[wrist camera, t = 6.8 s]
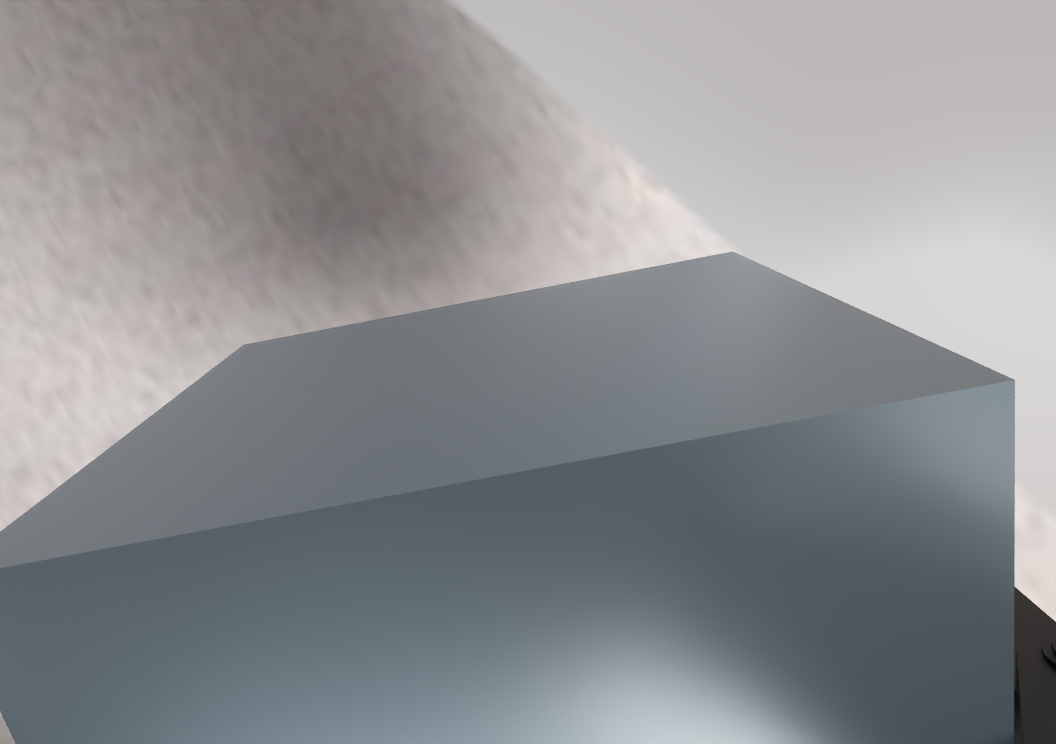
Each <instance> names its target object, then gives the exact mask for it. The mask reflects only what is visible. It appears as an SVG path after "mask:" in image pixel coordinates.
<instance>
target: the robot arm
mask: <svg viewBox="0 0 1056 744" xmlns="http://www.w3.org/2000/svg"><path fill="white" fill-rule="evenodd" d="M1014 744H1056V622H1055V621H1054V620H1053V619H1052V618H1050V617H1049V616H1048V615H1047V614H1046V613H1045V612H1043V611H1042V610H1041V609H1040V608H1039V607H1038V606H1036V605H1035V604H1034V603H1033V602H1032V601H1031V600H1029V599H1028V598H1027V597H1026V596H1025V595H1024V594H1022V593H1021V592H1020V591H1019V590H1018V589H1017V588H1015V587H1014Z"/></svg>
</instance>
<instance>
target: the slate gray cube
mask: <svg viewBox="0 0 1056 744" xmlns="http://www.w3.org/2000/svg"><path fill="white" fill-rule="evenodd" d="M1014 420H1015V380H1014V379H1011V378H1009V377H1007V376H1005V375H1002V374H1000V373H998V372H996V371H994V370H992V369H990V368H987V367H985V366H983V365H981V364H979V363H976V362H974V361H972V360H970V359H968V358H965V357H963V356H961V355H959V354H957V353H954V352H952V351H950V350H948V349H945V348H943V347H941V346H939V345H937V344H935V343H932V342H930V341H928V340H926V339H924V338H921V337H919V336H917V335H915V334H913V333H910V332H908V331H906V330H904V329H902V328H899V327H897V326H895V325H893V324H891V323H888V322H886V321H884V320H882V319H880V318H877V317H875V316H873V315H871V314H868V313H866V312H864V311H862V310H860V309H857V308H855V307H853V306H851V305H849V304H847V303H844V302H842V301H840V300H838V299H836V298H833V297H831V296H829V295H827V294H825V293H822V292H820V291H818V290H816V289H814V288H811V287H809V286H807V285H805V284H803V283H800V282H798V281H796V280H794V279H792V278H789V277H787V276H785V275H783V274H781V273H778V272H776V271H774V270H772V269H770V268H767V267H765V266H763V265H761V264H758V263H757V262H754V261H752V260H750V259H748V258H745V257H743V256H741V255H739V254H737V253H735V252H729V253H724V254H718V255H713V256H708V257H703V258H697V259H692V260H687V261H682V262H676V263H671V264H666V265H661V266H655V267H650V268H645V269H640V270H634V271H629V272H624V273H619V274H613V275H608V276H603V277H598V278H592V279H587V280H582V281H577V282H571V283H566V284H561V285H556V286H550V287H545V288H540V289H535V290H529V291H524V292H519V293H514V294H508V295H503V296H498V297H493V298H487V299H482V300H477V301H472V302H466V303H461V304H456V305H451V306H446V307H440V308H435V309H430V310H425V311H419V312H414V313H409V314H404V315H398V316H393V317H388V318H383V319H377V320H372V321H367V322H362V323H356V324H351V325H346V326H341V327H335V328H330V329H325V330H320V331H314V332H309V333H304V334H299V335H293V336H288V337H283V338H278V339H272V340H267V341H262V342H257V343H251V344H246V345H243V346H242V347H240V348H239V349H238V350H236V351H235V352H234V353H232V354H231V355H230V356H228V357H227V358H226V359H225V360H223V361H222V362H221V363H219V364H218V365H217V366H215V367H214V368H213V369H212V370H210V371H209V372H208V373H206V374H205V375H204V376H202V377H201V378H200V379H199V380H197V381H196V382H195V383H193V384H192V385H191V386H189V387H188V388H187V389H186V390H184V391H183V392H182V393H180V394H179V395H178V396H176V397H175V398H174V399H173V400H171V401H170V402H169V403H167V404H166V405H165V406H163V407H162V408H161V409H160V410H158V411H157V412H156V413H154V414H153V415H152V416H150V417H149V418H148V419H147V420H145V421H144V422H143V423H141V424H140V425H139V426H137V427H136V428H135V429H134V430H132V431H131V432H130V433H128V434H127V435H126V436H124V437H123V438H122V439H121V440H119V441H118V442H117V443H115V444H114V445H113V446H111V447H110V448H109V449H108V450H106V451H105V452H104V453H102V454H101V455H100V456H98V457H97V458H96V459H94V460H93V461H92V462H91V463H89V464H88V465H87V466H85V467H84V468H83V469H81V470H80V471H79V472H78V473H76V474H75V475H74V476H72V477H71V478H70V479H68V480H67V481H66V482H65V483H63V484H62V485H61V486H59V487H58V488H57V489H55V490H54V491H53V492H52V493H50V494H49V495H48V496H46V497H45V498H44V499H42V500H41V501H40V502H39V503H37V504H36V505H35V506H33V507H32V508H31V509H29V510H28V511H27V512H26V513H24V514H23V515H22V516H20V517H19V518H18V519H16V520H15V521H14V522H13V523H11V524H10V525H9V526H7V527H6V528H5V529H3V530H2V531H1V532H0V711H1V713H2V715H3V718H4V720H5V722H6V724H7V726H8V728H9V730H10V732H11V735H12V737H13V739H14V741H15V743H16V744H1014V465H1015V464H1014V459H1015V458H1014V457H1015V456H1014V455H1015V453H1014V451H1015V442H1014V441H1015V439H1014V438H1015V428H1014V427H1015V421H1014Z"/></svg>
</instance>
